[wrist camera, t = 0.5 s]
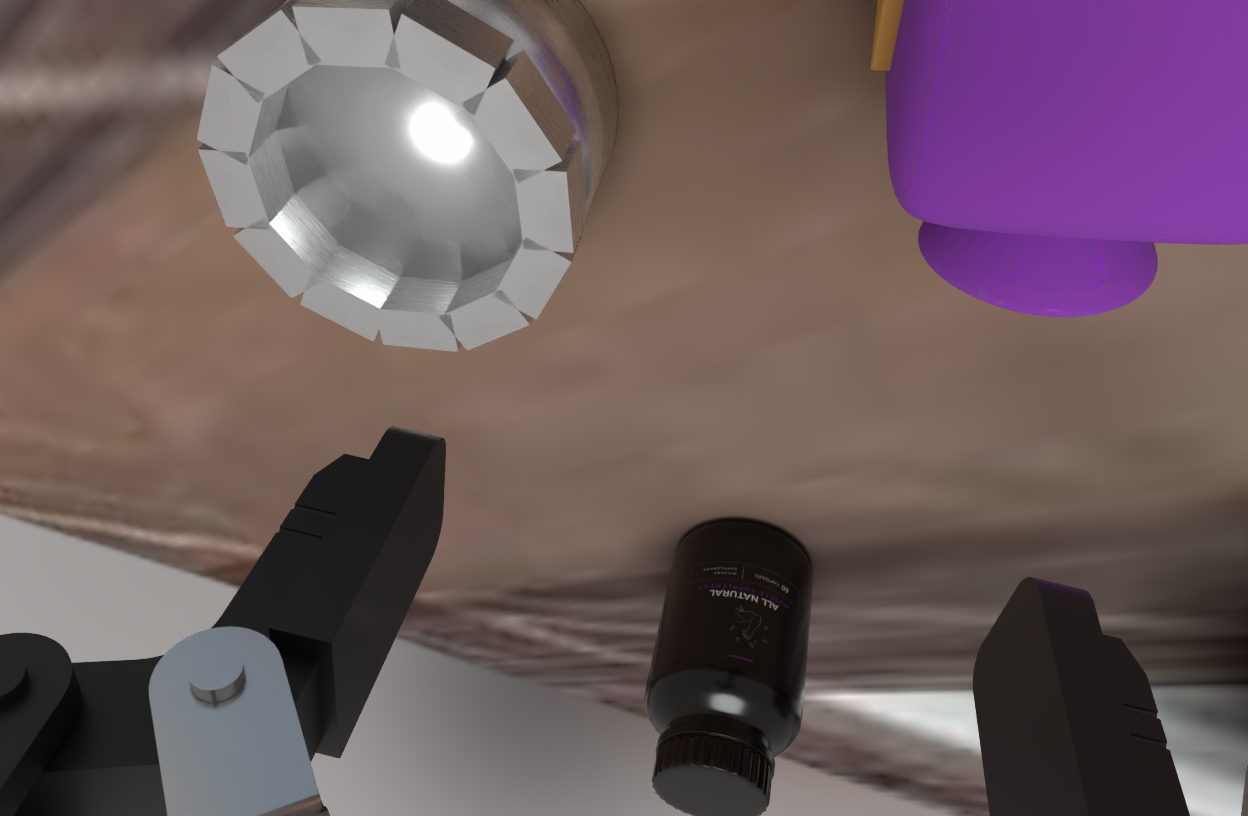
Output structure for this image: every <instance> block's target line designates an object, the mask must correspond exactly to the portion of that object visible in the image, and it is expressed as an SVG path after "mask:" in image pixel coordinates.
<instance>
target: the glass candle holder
mask: <svg viewBox="0 0 1248 816" xmlns="http://www.w3.org/2000/svg"><path fill="white" fill-rule="evenodd" d="M217 57H218V58H219V59H218V60H217V61H216V62H215V63H213V64H212V67H211V72H210V77H209V82H208V87H207V92H206V97H205V101H204V106H203V111H202V116H201V121H200V126H199V131H198V136H197V140H199V141H201V142H203V143H204V144H203V145H202V146H201V147H200V148H199V149H198V151H199V154H200V156H201V159H202V162H203V164H204V167H205V170H206V172H207V175H208V178H209V180H210V183H211V186H212V188H213V191H214V194H215V196H216V199H217V202H218V205H219V207H220V210H221V213H222V215H223V218H224V221H225V223H226V226H227V227H238V228H239V229H238V230H237V232H236V233H235V234H234V235H233V237H234V238H235V239H236V240H237V241H238V242H239V243H240V244H241V245H242V246H243V247H244V248H245V249H246V250H247V252H248V253H249V254H250V255H251V256H252V257H253V258H254V259H255V260H256V261H257V262H258V263H259V264H260V265H261V266H262V267H263V268H264V270H265V271H266V272H267V273H268V274H269V275H270V276H271V277H272V278H273V279H274V280H275V281H276V282H277V283H278V284H279V285H280V286H281V288H282V289H283V290H284V291H285V292H286V293H287V294H288V295H289V296H290V297H291V298H292V297H294V296H296V295H298V294H300V293H302V292H304V291H305V292H304V295H303V298H302V301H301V303H300V305H302V306H304V307H306V308H308V309H310V310H312V311H314V312H316V313H318V314H320V315H322V316H324V317H326V318H328V319H330V320H332V321H334V322H336V323H338V324H340V325H342V326H344V327H346V328H348V329H350V330H352V331H353V332H355V333H357V334H359V335H361V336H363V337H365V338H367V339H369V340H371V341H373V342H374V340H375V339H376V337H377V335H378V334H379V332H380V334H381V338H382V341H383V345H393V346H403V347H414V348H424V349H435V350H446V351H456V352H458V351H459V349H460V347H461V345H463V346H464V347H465V348H466V350H470V349H472V348H475V347H477V346H480V345H482V344H484V343H487V342H489V341H492V340H494V339H497V338H499V337H501V336H504V335H506V334H509V333H511V332H514V331H516V330H518V329H521V328H523V327H526V326H528V325H530V323H531V321H532V318H535V319H537V318H538V316H539V314H540V313H541V311H542V309H543V308H544V306H545V304H546V303H547V301H548V300H549V298H550V296H551V295H552V293H553V291H554V290H555V288H556V287H557V285H558V283H559V282H560V280H561V278H562V277H563V275H564V273H565V272H566V270H567V269H568V267H569V265H570V264H571V262H572V260H573V257H574V255H575V252H576V250H577V247H578V245H579V242H580V240H581V237H582V235H583V232H584V230H585V228H584V226H585V223H586V221H587V212H588V209H589V207H590V205H591V202H592V200H593V197H594V195H595V192H596V190H597V187H598V185H599V182H600V180H601V178H602V175H603V173H604V170H605V168H606V165H607V163H608V160H609V157H610V154H611V151H612V148H613V145H614V142H615V136H616V130H617V123H618V98H617V89H616V81H615V77H614V73H613V69H612V65H611V61H610V58H609V55H608V53H607V50H606V48H605V45H604V42H603V40H602V38H601V36H600V34H599V32H598V30H597V28H596V26H595V24H594V23H593V21H592V19H591V17H590V16H589V14H588V13H587V12H586V10H585V9H584V7H583V6H582V4H581V3H580V1H579V0H288V1H287V2H285V3H284V4H283V5H282V6H281V7H279V8H278V9H277V10H275V11H274V12H273V13H271V14H270V15H268V16H267V17H266V18H264V19H263V20H262V21H260V22H259V23H258V24H256V25H255V26H253V27H252V28H251V29H249V30H248V31H247V32H246V33H245V34H243V35H242V36H241V37H240V38H239V39H237V40H236V41H235V42H234V43H233V44H231V45H230V46H229V47H228V48H227V49H225V50H224V51H223V52H222V53H221V54H219V55H218V56H217Z"/></svg>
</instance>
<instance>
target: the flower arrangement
mask: <svg viewBox="0 0 1248 816" xmlns="http://www.w3.org/2000/svg"><path fill="white" fill-rule="evenodd" d="M1241 816H1248V767H1247V770H1246V777H1245V786H1244V795H1243V804H1242V812H1241Z"/></svg>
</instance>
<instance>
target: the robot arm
mask: <svg viewBox="0 0 1248 816" xmlns="http://www.w3.org/2000/svg"><path fill="white" fill-rule="evenodd" d="M445 458H446V443H445V440H444V438H441V437H437V436H432V435H428V434H424V433H420V432H415V431H411V430H407V429H402V428H398V427H394V426H392V427H390V428H389V429H388V430H387V431H386V432H385V434H384V435H383V437H382V439H381V440H380V442H379V444H378V445H377V447H376V449H375V450H374V452H373V454H372V455H371V457H370V459H365V458H361V457H356V456H352V455H348V454H344V455H342V456H341V457H339V458H338V459H336V460H335V461H333V462H332V463H331V464H329V465H328V466H326V467H325V468H323V469H322V470H321V471H319V472H318V473H316V474H315V475H314V476H313V477H312V479H311V480H310V482H309V483H308V485H307V486H306V488H305V489H304V491H303V492H302V494H301V495H300V497H299V498H298V500H297V502H296V503H295V507H294V509H291V511H290V512H289V514H288V515H287V517H286V518H285V520H284V521H283V523H282V524H281V526H280V530H279V532H278V533H277V532H276V534H275V535H274V537H273V538H272V540H271V541H270V543H269V544H268V546H267V547H266V549H265V550H264V552H263V553H262V555H261V556H260V558H259V559H258V561H257V563H256V564H255V566H254V567H253V569H252V570H251V572H250V573H249V575H248V576H247V578H246V579H245V581H244V582H243V584H242V585H241V587H240V588H239V590H238V592H237V593H236V595H235V596H234V598H233V599H232V601H231V602H230V604H229V605H228V607H227V608H226V610H225V611H224V613H223V615H222V616H221V617H220V618H219V620H218V621H217V622H216V624H215V625H214V626H213V627H212V628H211V629H207V630H204V631H201V632H198V633H196V634H193V635H191V636H189V637H187V638H185V639H184V640H182V641H180V642H179V643H177V644H176V645H175V646H173V647H172V648H171V649H170V650H169V651H168V652H167V653H166V654H165V655H162V656H158V657H153V658H149V659H139V660H124V661H123V660H122V661H101V662H81V663H71V660H70V657H69V655H68V653H67V652H66V650H65V649H64V648H63V647H62V646H61V645H60V644H59V643H57V642H56V641H55V640H53V639H50V638H48V637H46V636H42V635H39V634H32V633H11V634H4V635H0V816H330V814H329V812H328V809H327V808H326V806H325V807H324V806H323V804H322V801H321V798H320V795H319V791H318V788H317V784H316V781H315V777H314V774H313V770H312V766H311V761H312V759H313V757H314V754H315V752H316V753H321V754H324V755H328V756H332V757H336V758H340V757H341V755H342V753H343V751H344V749H345V746H346V744H347V742H348V740H349V738H350V735H351V733H352V731H353V729H354V727H355V725H356V722H357V720H358V718H359V716H360V714H361V712H362V709H363V707H364V705H365V703H366V701H367V698H368V696H369V694H370V692H371V690H372V688H373V686H374V683H375V681H376V679H377V677H378V675H379V672H380V670H381V668H382V666H383V664H384V662H385V659H386V657H387V655H388V653H389V651H390V649H391V646H392V644H393V642H394V640H395V638H396V636H397V633H398V631H399V629H400V627H401V625H402V622H403V620H404V618H405V616H406V614H407V612H408V609H409V607H410V605H411V603H412V601H413V599H414V596H415V594H416V592H417V590H418V588H419V586H420V583H421V581H422V579H423V577H424V575H425V572H426V570H427V568H428V566H429V564H430V562H431V559H432V557H433V555H434V552H435V549H436V546H437V543H438V539H439V535H440V531H441V526H442V520H443V506H444V482H445ZM973 693H974V700H975V708H976V715H977V723H978V731H979V738H980V746H981V753H982V761H983V768H984V776H985V783H986V791H987V798H988V806H989V813H990V816H1190V814H1189V811H1188V808H1187V805H1186V801H1185V798H1184V795H1183V792H1182V788H1181V785H1180V782H1179V779H1178V775H1177V772H1176V769H1175V766H1174V762H1173V759H1172V756H1171V753H1170V750H1168V749H1166V743H1167V740H1166V737H1165V733H1164V730H1163V727H1162V724H1161V720H1160V719H1157V713H1158V711H1157V707H1156V704H1155V701H1154V698H1153V694H1152V691H1151V688H1150V685H1149V681H1148V678H1147V675H1146V674H1145V672H1144V671H1143V669H1142V668H1141V667H1140V665H1139V664H1138V662H1137V661H1136V659H1135V658H1134V657H1133V655H1132V654H1131V652H1130V651H1129V650H1128V648H1127V647H1126V645H1125V644H1124V643H1123V641H1122V640H1121V639H1120V638H1116V637H1111V636H1107V635H1103V634H1102V631H1101V627H1100V623H1099V620H1098V616H1097V613H1096V609H1095V605H1094V602H1093V599H1092V597H1091V595H1090V594H1089V593H1088V592H1087V591H1086V590H1083V589H1079V588H1074V587H1070V586H1066V585H1061V584H1057V583H1053V582H1049V581H1044V580H1040V579H1036V578H1031V577H1028V578H1025V579H1024V580H1023V581H1022V582H1021V583H1020V584H1019V585H1018V587H1017V588H1016V590H1015V592H1014V593H1013V595H1012V596H1011V598H1010V600H1009V601H1008V603H1007V604H1006V606H1005V608H1004V609H1003V611H1002V612H1001V614H1000V616H999V617H998V619H997V621H996V622H995V624H994V625H993V627H992V629H991V630H990V632H989V633H988V635H987V637H986V638H985V640H984V642H983V643H982V645H981V647H980V649H979V652H978V655H977V658H976V662H975V667H974V674H973Z"/></svg>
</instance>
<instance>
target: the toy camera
mask: <svg viewBox="0 0 1248 816" xmlns="http://www.w3.org/2000/svg"><path fill="white" fill-rule="evenodd" d="M871 69H872V70H874V71H886V109H887V145H888V162H889V169H890V175H891V180H892V184H893V187H894V191H895V194H896V196H897V198H898V200H899V202H900V204H901V205H902V207H903V208H904V209H905V210H906V211H907V212H908V213H909V214H910V215H912V216H914V217H915V218H918V219H920V220H923V223H922V225H921V227H920V230H919V238H918V241H919V247H920V250H921V253H922V255H923V257H924V258H925V260H926V261H927V263H928V264H929V265H930V266H931V268H932V269H933V270H934V271H935V272H936V273H937V274H939V275H940V276H941V277H942V278H943V279H945V280H946V281H947V282H948V283H950V284H951V285H953V286H955V287H956V288H958V289H959V290H961V291H963V292H965V293H967V294H969V295H971V296H973V297H975V298H977V299H980V300H982V301H985V302H987V303H990V304H992V305H995V306H998V307H1002V308H1005V309H1009V310H1012V311H1016V312H1021V313H1026V314H1032V315H1039V316H1051V317H1075V316H1086V315H1093V314H1098V313H1102V312H1107V311H1110V310H1113V309H1116V308H1119V307H1121V306H1124V305H1126V304H1128V303H1130V302H1132V301H1133V300H1135V299H1136V298H1138V297H1139V296H1140V295H1142V294H1143V293H1144V292H1145V291H1146V290H1147V289H1148V287H1149V286H1150V285H1151V283H1152V282H1153V280H1154V277H1155V274H1156V272H1157V263H1158V261H1157V254H1156V250H1155V246H1154V243H1153V242H1157V243H1182V244H1216V245H1218V244H1246V243H1248V0H878V3H877V12H876V21H875V30H874V39H873V48H872V57H871Z"/></svg>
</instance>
